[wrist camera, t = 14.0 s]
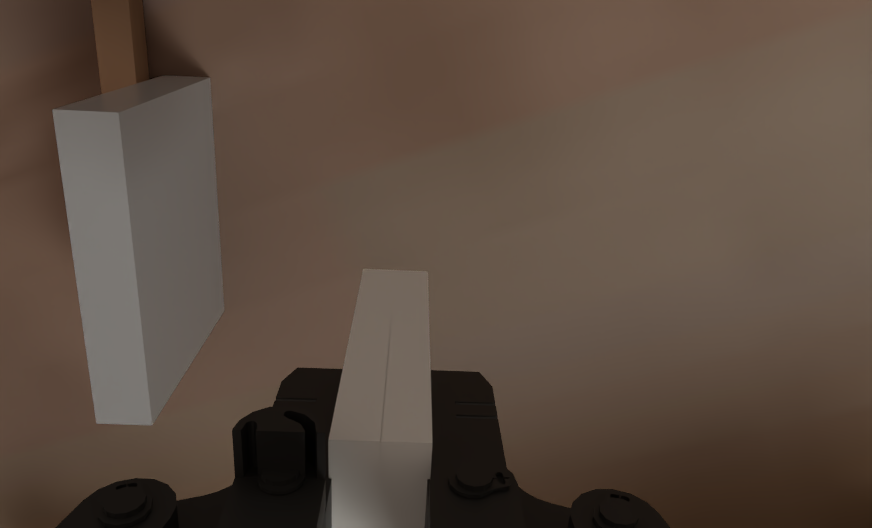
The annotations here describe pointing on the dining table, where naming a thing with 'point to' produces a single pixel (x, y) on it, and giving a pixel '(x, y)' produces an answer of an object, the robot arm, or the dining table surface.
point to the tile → (142, 237)
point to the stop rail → (120, 43)
